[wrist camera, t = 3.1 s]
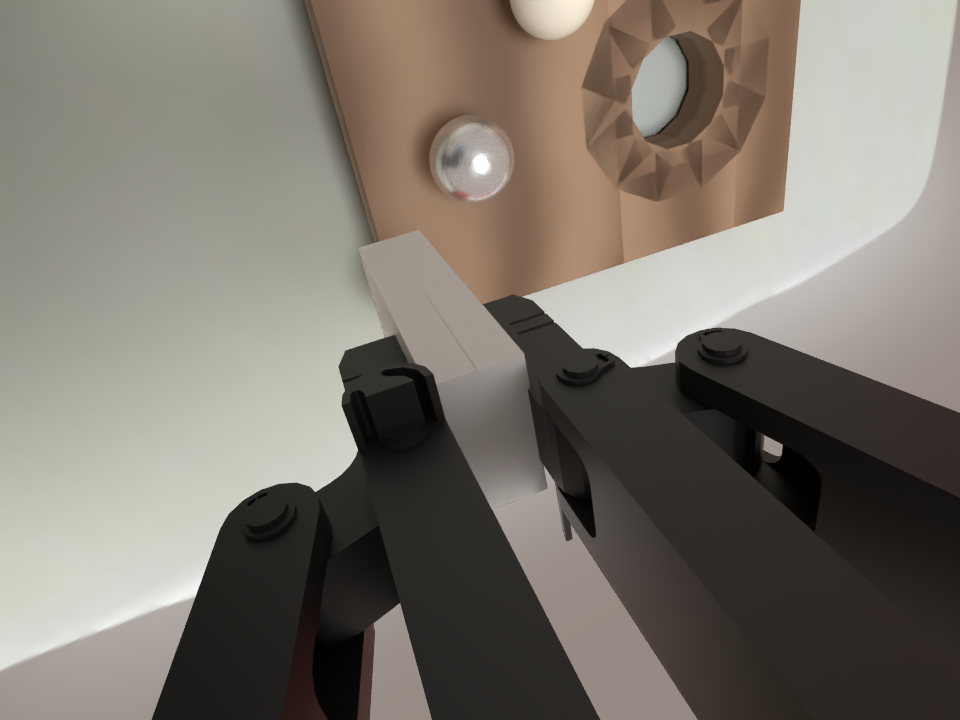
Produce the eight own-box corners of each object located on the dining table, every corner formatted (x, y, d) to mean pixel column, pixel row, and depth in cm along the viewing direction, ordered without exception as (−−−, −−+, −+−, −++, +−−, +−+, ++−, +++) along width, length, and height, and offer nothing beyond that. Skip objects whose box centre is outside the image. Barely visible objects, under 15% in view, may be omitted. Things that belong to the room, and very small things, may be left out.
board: (394, 312, 30) (406, 334, 27) (295, -28, 22) (301, -33, 20) (749, 199, 33) (783, 210, 31) (766, -125, 26) (811, -138, 24)
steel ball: (430, 202, 25) (452, 224, 22) (411, 121, 23) (433, 133, 21) (502, 181, 26) (533, 200, 23) (489, 100, 24) (520, 110, 21)
